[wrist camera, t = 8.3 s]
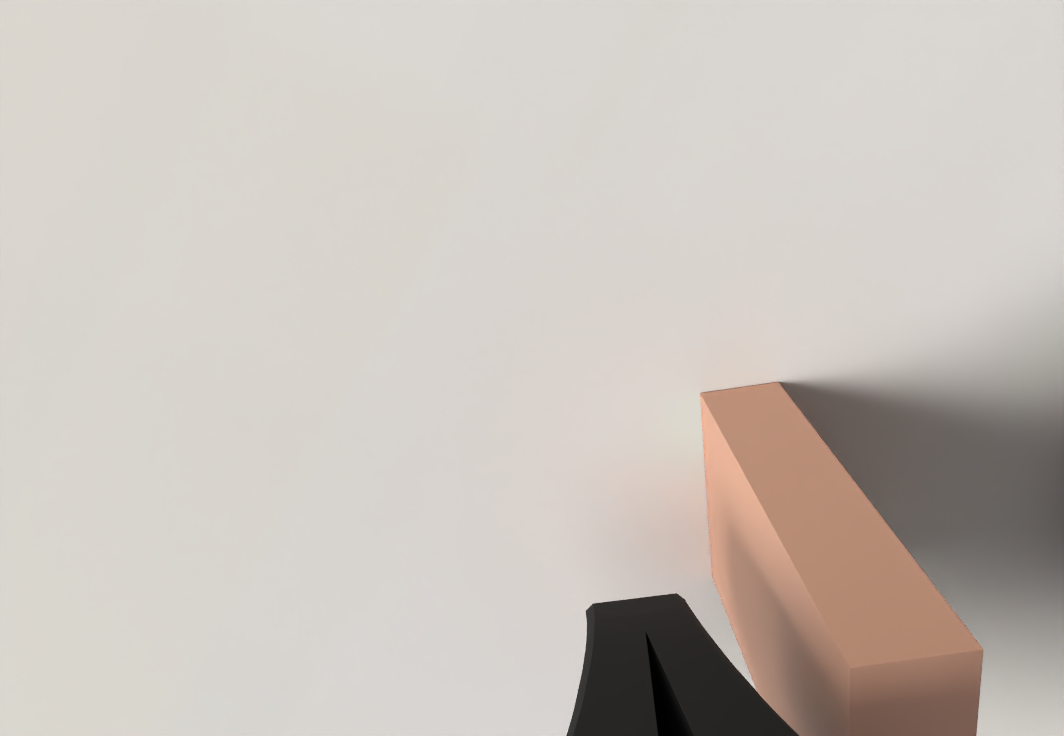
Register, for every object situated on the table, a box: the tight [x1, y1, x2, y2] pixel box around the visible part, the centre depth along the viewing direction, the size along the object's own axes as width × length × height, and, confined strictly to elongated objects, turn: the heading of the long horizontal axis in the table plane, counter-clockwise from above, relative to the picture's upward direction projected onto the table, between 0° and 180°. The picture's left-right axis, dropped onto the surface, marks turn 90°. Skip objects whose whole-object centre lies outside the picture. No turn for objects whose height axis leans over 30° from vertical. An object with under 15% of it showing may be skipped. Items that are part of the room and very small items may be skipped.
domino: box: [700, 382, 983, 736], centre depth 13 cm, size 4×1×7 cm, turn 8°
